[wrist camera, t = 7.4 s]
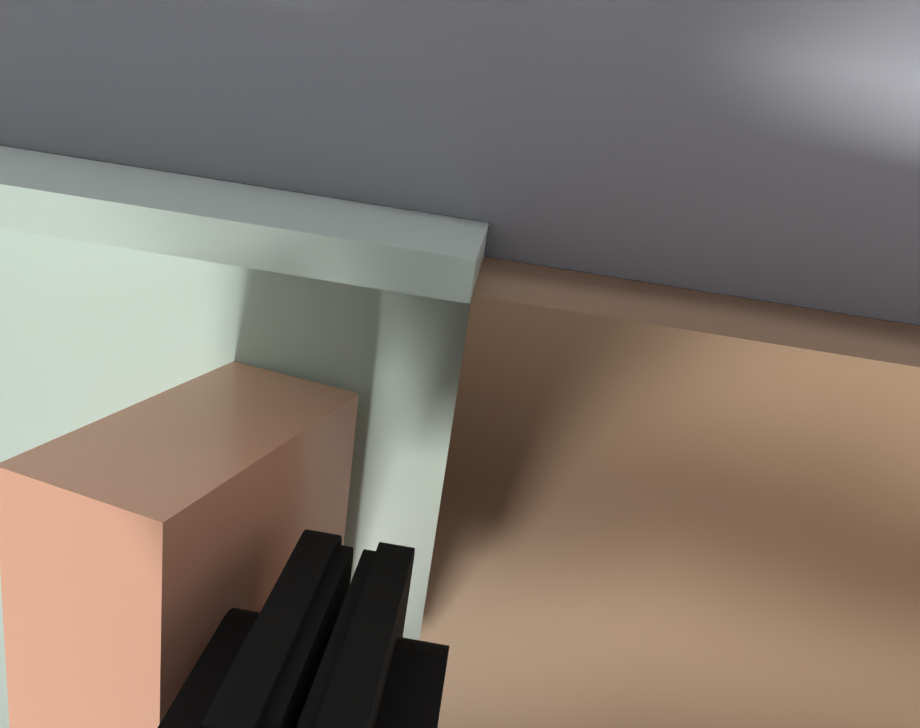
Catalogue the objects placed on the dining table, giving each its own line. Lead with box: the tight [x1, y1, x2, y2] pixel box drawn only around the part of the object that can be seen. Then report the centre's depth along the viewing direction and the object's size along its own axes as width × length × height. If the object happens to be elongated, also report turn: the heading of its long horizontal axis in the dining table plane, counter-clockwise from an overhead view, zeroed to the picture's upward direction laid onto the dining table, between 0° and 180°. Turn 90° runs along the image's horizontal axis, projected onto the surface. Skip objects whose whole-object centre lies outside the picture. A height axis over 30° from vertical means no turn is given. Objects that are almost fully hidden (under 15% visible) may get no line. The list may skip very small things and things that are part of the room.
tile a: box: [0, 361, 359, 728], centre depth 12 cm, size 5×5×2 cm
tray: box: [0, 146, 489, 728], centre depth 15 cm, size 19×12×4 cm, turn 172°
